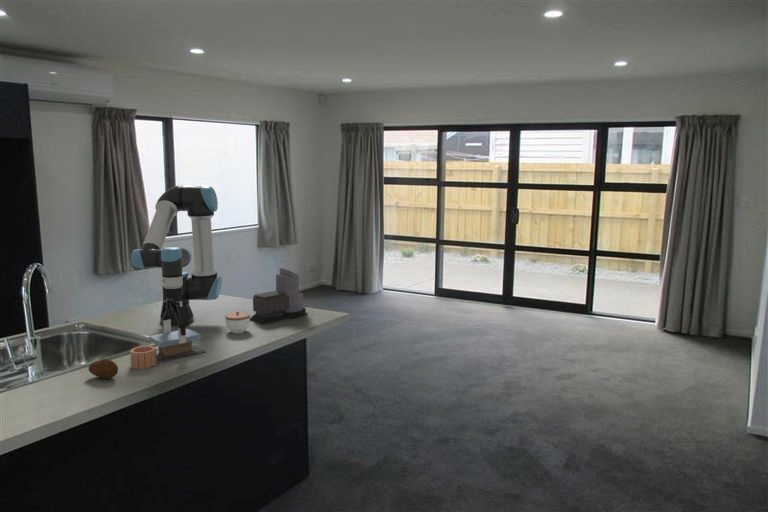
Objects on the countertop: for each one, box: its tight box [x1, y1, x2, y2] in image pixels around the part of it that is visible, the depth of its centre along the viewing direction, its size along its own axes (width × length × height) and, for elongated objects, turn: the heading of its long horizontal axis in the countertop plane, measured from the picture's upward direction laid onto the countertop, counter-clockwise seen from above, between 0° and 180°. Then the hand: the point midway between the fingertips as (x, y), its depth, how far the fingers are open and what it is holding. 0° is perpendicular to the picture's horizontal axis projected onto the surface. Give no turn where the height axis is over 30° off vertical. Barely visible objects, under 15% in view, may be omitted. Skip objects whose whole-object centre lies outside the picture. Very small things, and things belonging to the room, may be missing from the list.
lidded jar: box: [224, 310, 251, 334], centre depth 255 cm, size 11×11×9 cm
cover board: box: [148, 328, 201, 348], centre depth 226 cm, size 11×16×2 cm
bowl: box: [129, 345, 157, 370], centre depth 212 cm, size 8×8×6 cm
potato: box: [88, 358, 119, 380], centre depth 199 cm, size 7×12×7 cm, turn 77°
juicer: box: [250, 267, 309, 326], centre depth 280 cm, size 30×16×24 cm, turn 138°
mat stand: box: [156, 341, 207, 363], centre depth 227 cm, size 16×18×5 cm
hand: (174, 339), depth 226 cm, fingers open, 13 cm apart
